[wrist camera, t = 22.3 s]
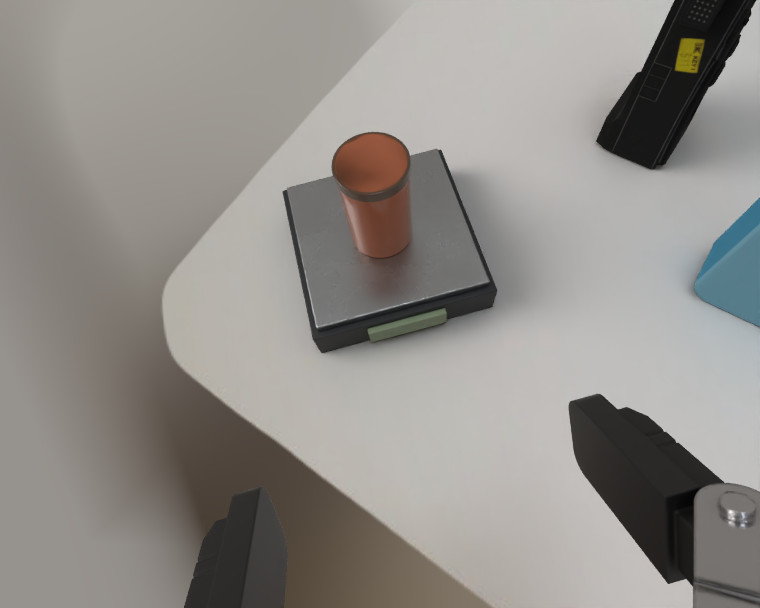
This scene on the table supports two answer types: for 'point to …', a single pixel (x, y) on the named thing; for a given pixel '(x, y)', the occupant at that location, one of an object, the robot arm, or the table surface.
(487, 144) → the table surface
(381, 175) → the spice tin
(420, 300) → the scale pan
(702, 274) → the data package
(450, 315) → the scale
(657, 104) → the portable radio
